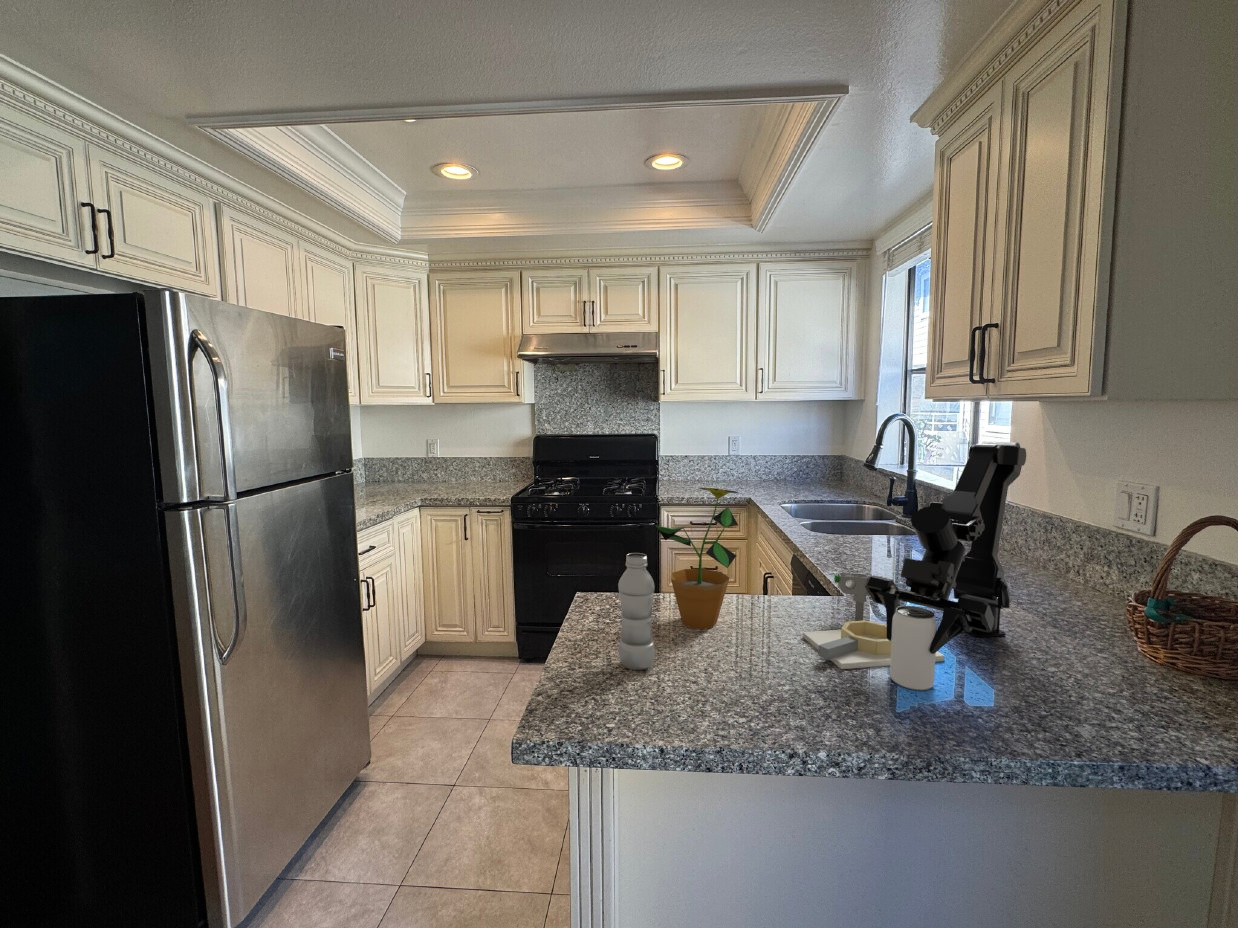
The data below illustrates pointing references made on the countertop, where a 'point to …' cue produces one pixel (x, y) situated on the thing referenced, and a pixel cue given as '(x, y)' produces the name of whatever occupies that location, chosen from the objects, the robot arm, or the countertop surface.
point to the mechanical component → (854, 590)
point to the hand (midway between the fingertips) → (909, 645)
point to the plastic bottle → (636, 614)
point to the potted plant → (702, 574)
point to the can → (913, 648)
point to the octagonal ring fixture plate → (855, 645)
